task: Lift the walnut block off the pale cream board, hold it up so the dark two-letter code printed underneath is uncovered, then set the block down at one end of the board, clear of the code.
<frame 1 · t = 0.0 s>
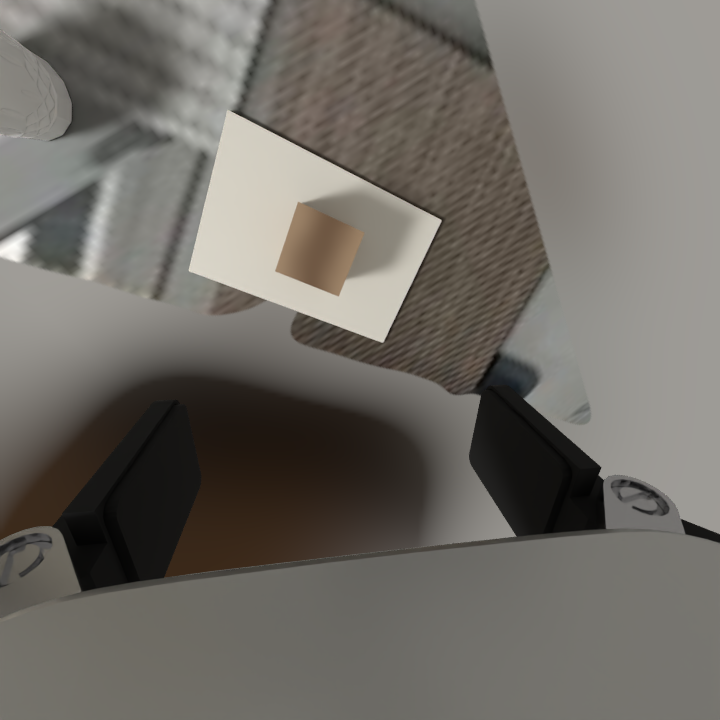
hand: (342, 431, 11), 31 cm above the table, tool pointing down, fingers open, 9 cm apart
white cup: (31, 97, 29), on the table
walnut block: (317, 245, 37), point 1 cm above the table, touching code board
code board: (317, 244, 38), on the table
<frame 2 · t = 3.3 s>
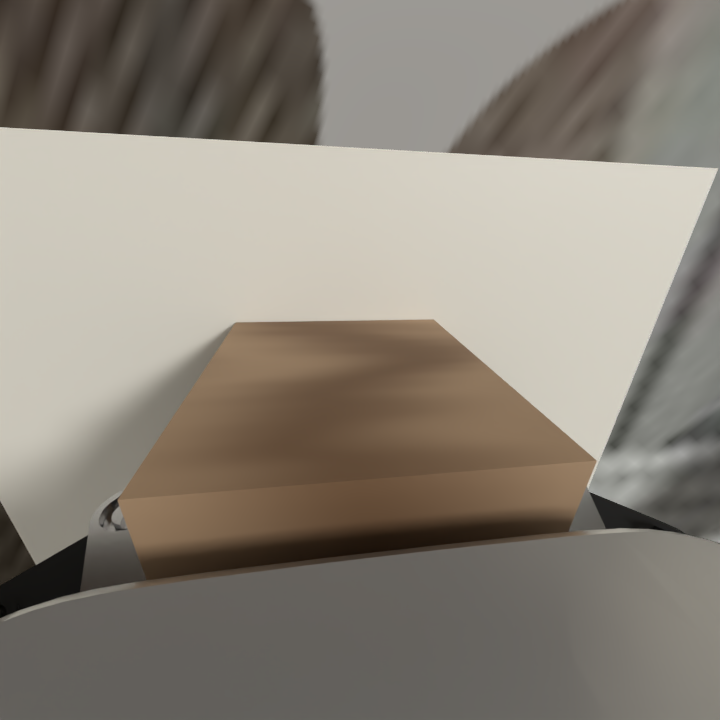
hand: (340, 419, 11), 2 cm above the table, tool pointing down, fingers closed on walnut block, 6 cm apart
walnut block: (338, 405, 12), point 1 cm above the table, touching code board, gripper
code board: (337, 396, 13), on the table
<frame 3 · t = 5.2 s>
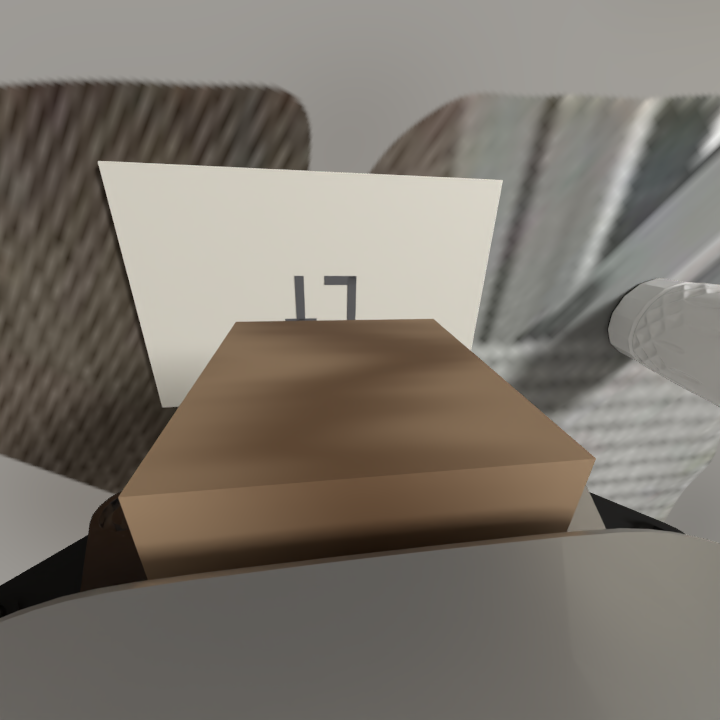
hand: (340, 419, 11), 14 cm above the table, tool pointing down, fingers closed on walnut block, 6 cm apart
white cup: (641, 316, 29), on the table
walnut block: (338, 405, 12), point 13 cm above the table, touching gripper
code board: (320, 299, 24), on the table
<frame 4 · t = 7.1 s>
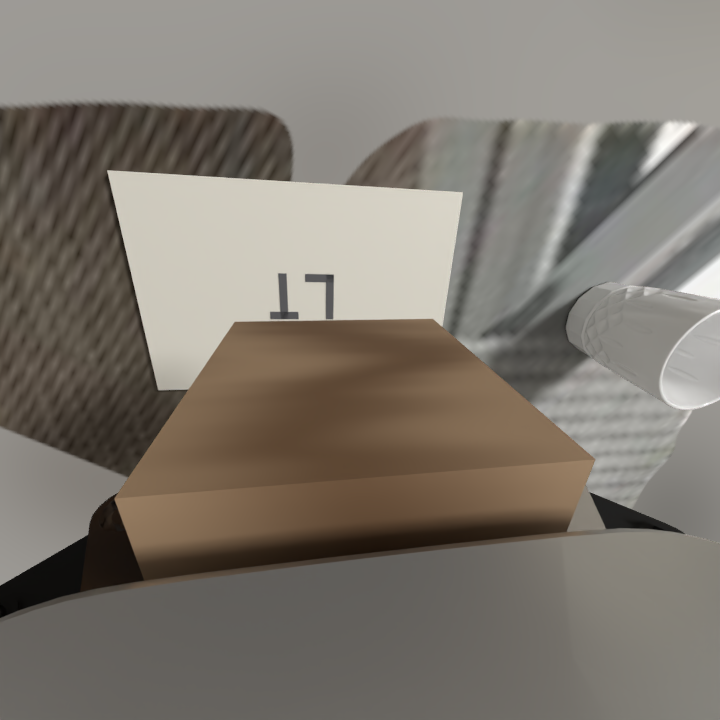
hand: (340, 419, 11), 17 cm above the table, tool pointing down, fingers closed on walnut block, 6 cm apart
white cup: (596, 316, 32), on the table
walnut block: (337, 405, 12), point 17 cm above the table, touching gripper
code board: (301, 295, 27), on the table
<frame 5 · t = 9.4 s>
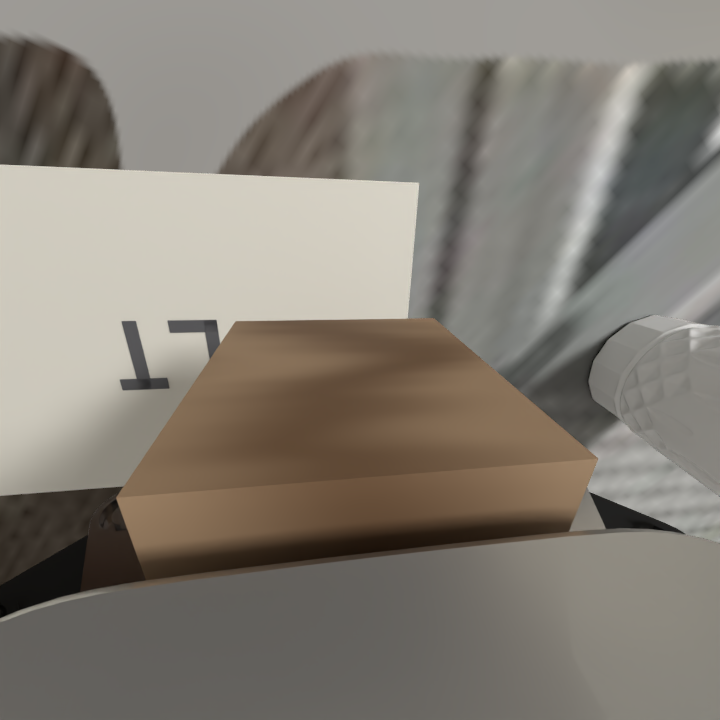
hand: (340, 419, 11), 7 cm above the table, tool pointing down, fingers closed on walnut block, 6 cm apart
white cup: (633, 363, 22), on the table
walnut block: (338, 404, 12), point 6 cm above the table, touching gripper
code board: (173, 351, 17), on the table
when the fingers open (2 cm above the table, at t = 11.3 s): walnut block stays where it is, resting on code board.
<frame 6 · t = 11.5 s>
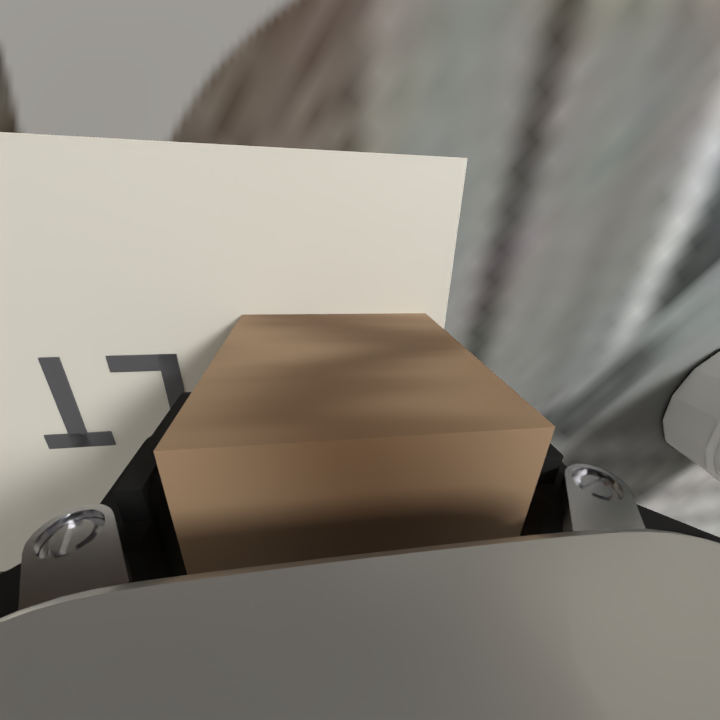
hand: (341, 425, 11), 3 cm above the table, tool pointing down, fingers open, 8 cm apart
white cup: (718, 397, 17), on the table
walnut block: (337, 393, 13), point 1 cm above the table, touching code board
code board: (120, 394, 12), on the table
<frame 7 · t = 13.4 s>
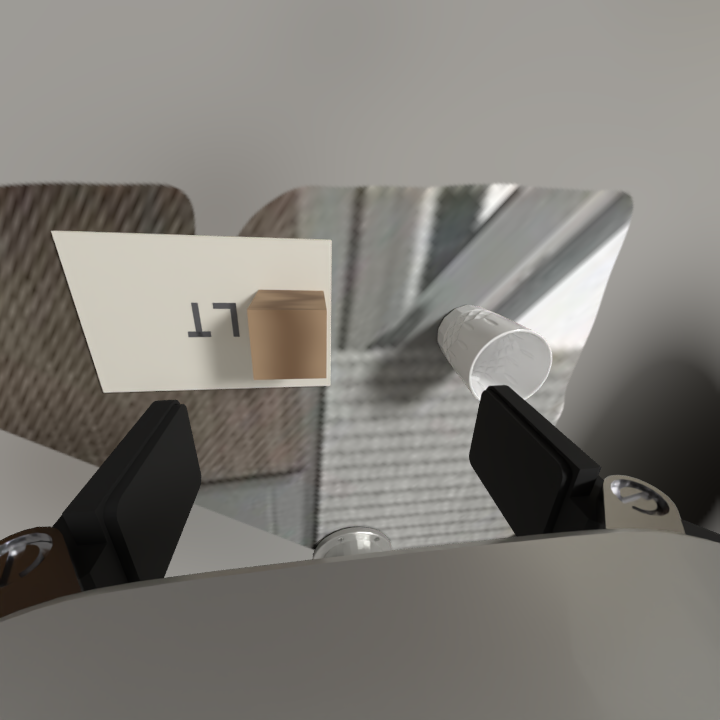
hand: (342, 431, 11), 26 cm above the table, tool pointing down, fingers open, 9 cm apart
white cup: (463, 331, 39), on the table
walnut block: (292, 320, 35), point 1 cm above the table, touching code board
code board: (213, 318, 34), on the table
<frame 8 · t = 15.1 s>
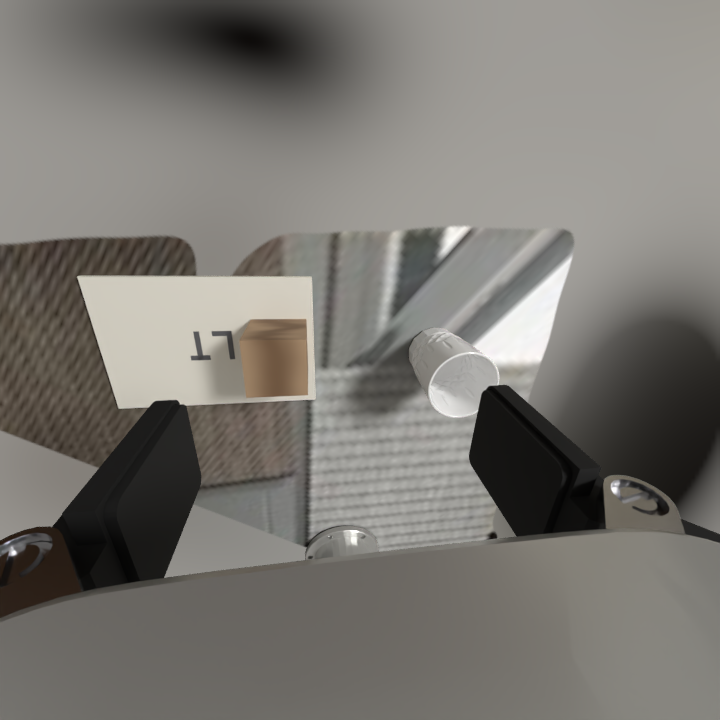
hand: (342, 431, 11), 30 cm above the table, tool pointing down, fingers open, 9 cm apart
white cup: (432, 350, 44), on the table
walnut block: (280, 344, 40), point 1 cm above the table, touching code board
code board: (212, 343, 40), on the table
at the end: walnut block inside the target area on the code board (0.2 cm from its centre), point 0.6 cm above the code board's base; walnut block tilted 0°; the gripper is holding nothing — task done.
